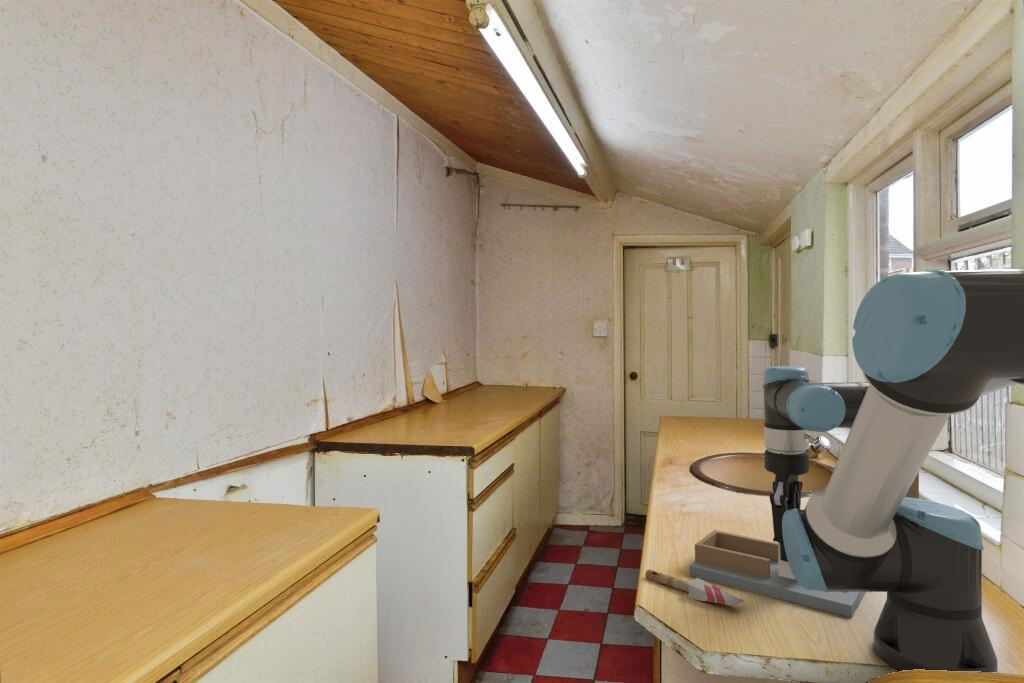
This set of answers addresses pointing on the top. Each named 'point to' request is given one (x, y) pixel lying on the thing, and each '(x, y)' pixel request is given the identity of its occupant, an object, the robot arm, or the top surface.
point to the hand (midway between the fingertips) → (787, 576)
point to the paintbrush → (696, 589)
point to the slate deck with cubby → (760, 572)
